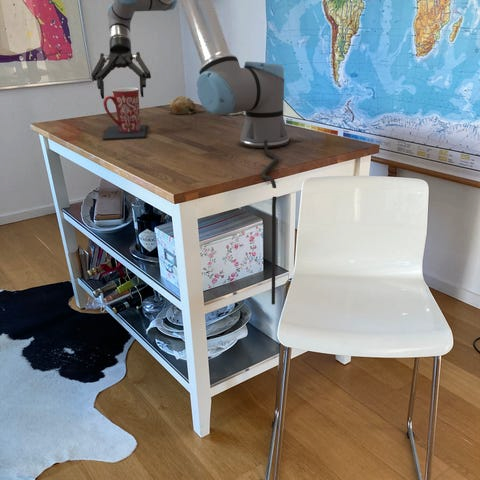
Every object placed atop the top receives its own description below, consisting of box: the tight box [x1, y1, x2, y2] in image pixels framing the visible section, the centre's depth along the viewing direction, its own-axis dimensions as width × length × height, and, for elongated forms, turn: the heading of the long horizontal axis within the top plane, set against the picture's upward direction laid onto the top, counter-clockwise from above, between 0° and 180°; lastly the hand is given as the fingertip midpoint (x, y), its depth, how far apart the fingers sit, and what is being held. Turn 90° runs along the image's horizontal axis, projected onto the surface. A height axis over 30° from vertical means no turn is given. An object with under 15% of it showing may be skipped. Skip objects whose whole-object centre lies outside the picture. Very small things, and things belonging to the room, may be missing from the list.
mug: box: [103, 87, 142, 132], centre depth 179 cm, size 13×9×14 cm
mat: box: [102, 124, 148, 141], centre depth 182 cm, size 20×14×1 cm
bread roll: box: [168, 95, 197, 116], centre depth 212 cm, size 10×10×8 cm
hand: (122, 95), depth 179 cm, fingers open, 13 cm apart
